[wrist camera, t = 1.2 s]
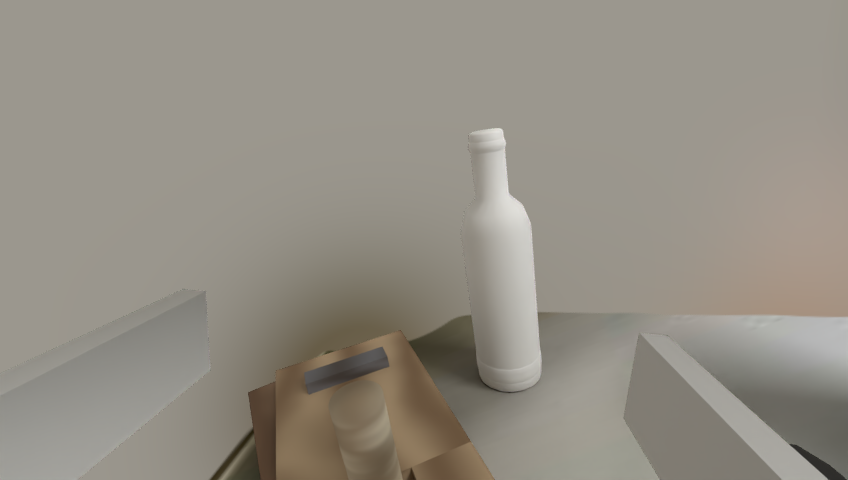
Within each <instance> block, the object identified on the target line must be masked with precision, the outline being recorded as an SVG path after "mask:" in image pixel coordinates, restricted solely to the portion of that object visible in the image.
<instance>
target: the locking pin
mask: <svg viewBox="0 0 848 480" xmlns="http://www.w3.org/2000/svg"><path fill="white" fill-rule="evenodd" d="M328 408H329V412H330V415H331V419H332V422H333V426H334V430H335V433H336V437H337V440H338V444H339V447H340V451H341V454H342V458H343V461H344V465H345V468H346V472H347V475H348V479H349V480H403V478H402V474H401V469H400V465H399V461H398V456H397V452H396V447H395V443H394V438H393V434H392V430H391V425H390V421H389V416H388V412H387V407H386V403H385V399H384V394H383V390H382V388H381V386H380V385H379V384H378V383H376V382H373V381H369V380H360V381H355V382H352V383H349V384H347V385H345V386H343V387H341V388H340V389H339V390H337V391H336V392H335V393H334V394H333V396H332V397H331V399H330V401H329V404H328Z"/></svg>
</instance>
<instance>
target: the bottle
mask: <svg viewBox="0 0 848 480" xmlns="http://www.w3.org/2000/svg"><path fill="white" fill-rule="evenodd" d="M468 137H469V145H468V150H469V152H470V153H471V163H472V171H473V180H474V189H475V199H474V200H473V201H472V203H471V204H470V205H469V206H468V208H467V209H466V210H465V212H464V217H463V221H462V227H461V238H462V246H463V253H464V261H465V269H466V276H467V284H468V292H469V300H470V307H471V315H472V323H473V330H474V338H475V345H476V360H477V366H478V368H479V376H480V377H481V379H482V381H483V382H484V383H485V384H486V385H488V386H489V387H491V388H493V389H496V390H499V391H505V392H516V391H522V390H525V389H527V388H529V387H532V386H533V385H534V384H535V383H536V382H537V381H538V380H539V379H540V376H541V373H542V371H541V364H542V358H541V351H540V343H539V329H538V315H537V302H536V288H535V275H534V259H533V245H532V232H531V223H530V221H529V218H528V216H527V213H526V211H525V209H524V207H523V205H522V204H521V203H520V202H519V201H517V200H516V199H515V198H514V197H512V196H511V195H510V194H509V191H508V180H507V168H506V157H505V146H506V141H505V139H504V134H503V130H502V129H500V128H493V129H486V130H479V131H474V132H471V133H470V134H469V135H468Z"/></svg>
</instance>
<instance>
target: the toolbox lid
mask: <svg viewBox="0 0 848 480" xmlns="http://www.w3.org/2000/svg"><path fill="white" fill-rule="evenodd" d="M360 380H369V381H373V382H376V383H378V384H379V385H380V386H381V388H382V390H383V394H384V399H385V403H386V407H387V412H388V416H389V421H390V425H391V430H392V434H393V438H394V443H395V447H396V452H397V456H398V461H399V465H400V469H401V474H402V478H403V480H495V479H494V478H493V476H492V474H491V473H490V471H489V470H488V468H487V466H486V465H485V463H484V462H483V460H482V458H481V457H480V455H479V454H478V452H477V450H476V449H475V447H474V446H473V444H472V443H471V441H470V439H469V438H468V436H467V435H466V433H465V431H464V430H463V428H462V427H461V425H460V423H459V422H458V420H457V419H456V417H455V415H454V414H453V412H452V411H451V409H450V408H449V406H448V404H447V403H446V401H445V400H444V398H443V396H442V395H441V393H440V392H439V390H438V388H437V387H436V385H435V384H434V382H433V380H432V379H431V377H430V376H429V374H428V373H427V371H426V369H425V368H424V366H423V365H422V363H421V361H420V360H419V358H418V357H417V355H416V353H415V352H414V350H413V349H412V347H411V345H410V344H409V342H408V341H407V339H406V337H405V336H404V335H403V333H402V331H401V330H399V331H396V332H393V333H390V334H387V335H384V336H381V337H378V338H374V339H371V340H369V341H365V342H362V343H359V344H356V345H353V346H350V347H347V348H344V349H341V350H338V351H334V352H331V353H328V354H325V355H322V356H319V357H316V358H313V359H310V360H307V361H304V362H301V363H298V364H295V365H292V366H288V367H285V368H282V369H279V370H276V480H349V479H348V475H347V472H346V468H345V465H344V461H343V458H342V454H341V451H340V447H339V444H338V440H337V437H336V433H335V430H334V426H333V422H332V419H331V415H330V412H329V408H328V404H329V401H330V399H331V397H332V396H333V394H334V393H335V392H336V391H337V390H339V389H340V388H341V387H343V386H345V385H347V384H349V383H352V382H355V381H360Z"/></svg>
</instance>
